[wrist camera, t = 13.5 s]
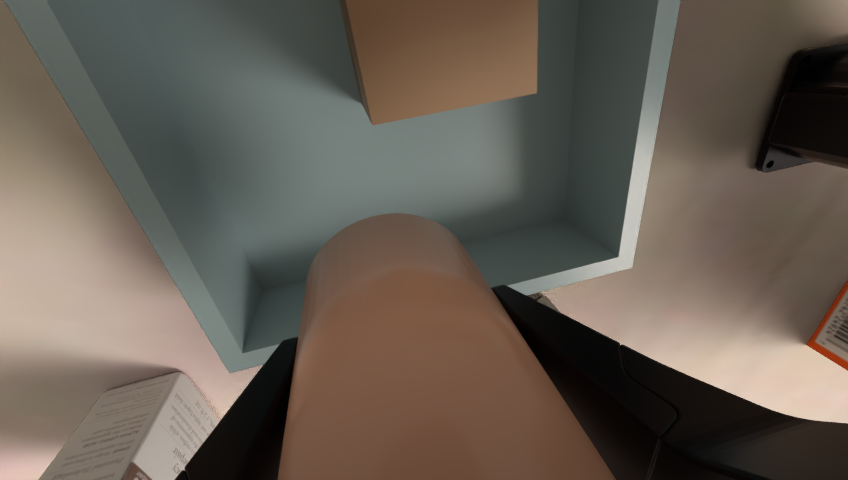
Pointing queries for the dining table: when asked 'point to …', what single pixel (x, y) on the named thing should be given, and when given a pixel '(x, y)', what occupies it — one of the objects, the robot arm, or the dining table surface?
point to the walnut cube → (440, 53)
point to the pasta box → (834, 331)
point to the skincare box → (137, 433)
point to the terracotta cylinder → (419, 370)
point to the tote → (351, 146)
